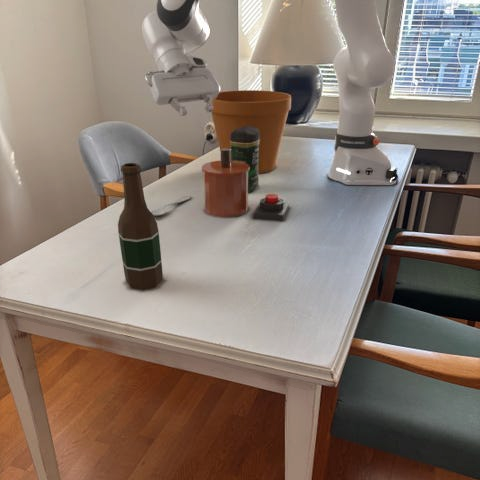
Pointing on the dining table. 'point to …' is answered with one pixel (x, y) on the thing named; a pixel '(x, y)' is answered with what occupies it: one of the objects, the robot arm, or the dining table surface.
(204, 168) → the lid
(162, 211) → the spoon
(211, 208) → the jar
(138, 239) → the beer bottle
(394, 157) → the dining table surface
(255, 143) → the coffee jar
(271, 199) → the button
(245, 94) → the flowerpot
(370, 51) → the robot arm
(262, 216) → the block
